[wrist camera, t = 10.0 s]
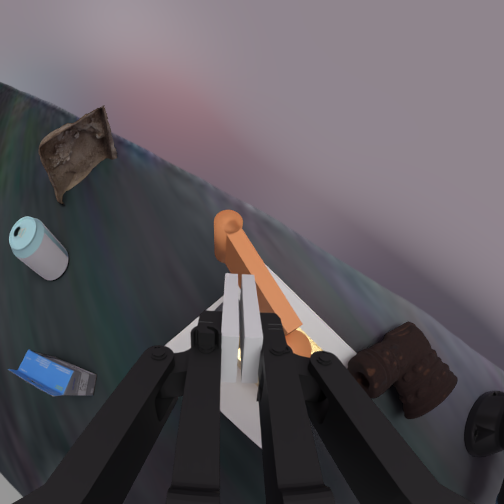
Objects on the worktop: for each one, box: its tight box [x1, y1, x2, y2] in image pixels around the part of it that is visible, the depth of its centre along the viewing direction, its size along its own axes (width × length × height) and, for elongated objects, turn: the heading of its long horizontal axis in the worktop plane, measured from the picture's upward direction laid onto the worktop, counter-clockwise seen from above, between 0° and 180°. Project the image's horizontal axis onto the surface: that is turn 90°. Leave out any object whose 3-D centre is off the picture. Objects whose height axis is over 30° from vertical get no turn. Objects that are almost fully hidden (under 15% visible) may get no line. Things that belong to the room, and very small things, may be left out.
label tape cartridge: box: [8, 350, 97, 396], centre depth 32 cm, size 9×4×12 cm, turn 80°
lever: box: [214, 210, 312, 358], centre depth 30 cm, size 17×4×7 cm, turn 30°
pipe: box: [348, 322, 457, 419], centre depth 39 cm, size 10×15×15 cm
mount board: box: [165, 265, 357, 449], centre depth 42 cm, size 22×21×1 cm
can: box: [9, 216, 68, 280], centre depth 39 cm, size 7×7×12 cm
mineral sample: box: [39, 106, 117, 204], centre depth 47 cm, size 17×4×15 cm, turn 143°
